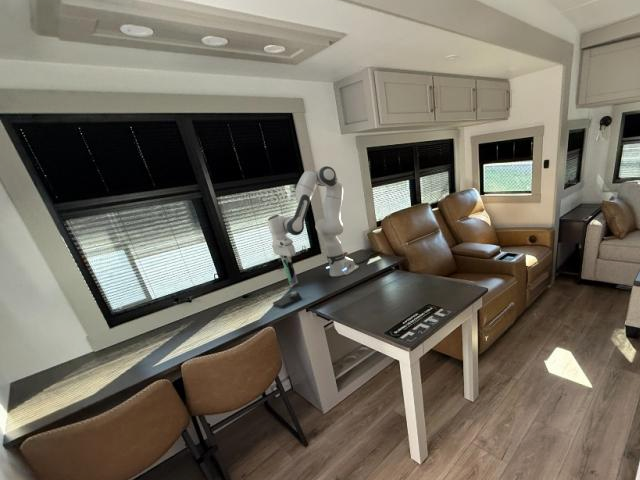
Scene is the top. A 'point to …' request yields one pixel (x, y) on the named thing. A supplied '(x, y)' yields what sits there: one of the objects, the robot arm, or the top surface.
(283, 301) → the scale
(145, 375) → the top surface
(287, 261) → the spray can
